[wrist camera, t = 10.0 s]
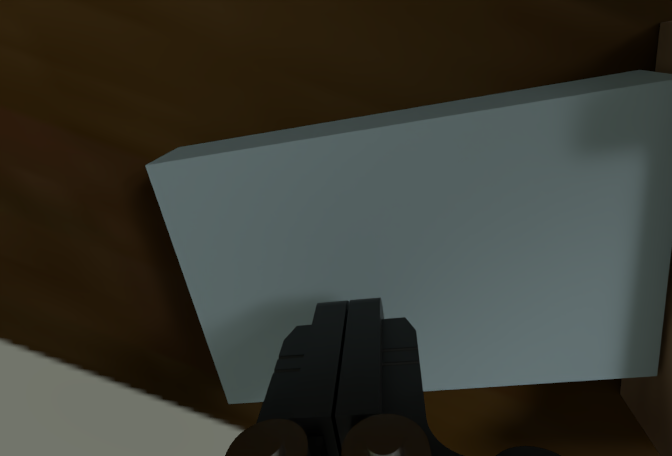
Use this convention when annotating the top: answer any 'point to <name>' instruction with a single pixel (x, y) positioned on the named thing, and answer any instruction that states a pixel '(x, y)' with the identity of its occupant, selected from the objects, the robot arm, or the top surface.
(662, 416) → the box
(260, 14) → the top surface
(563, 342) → the lid
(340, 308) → the robot arm
